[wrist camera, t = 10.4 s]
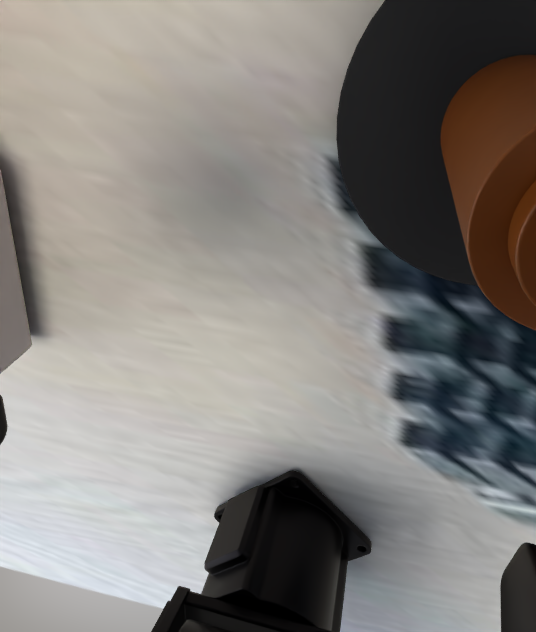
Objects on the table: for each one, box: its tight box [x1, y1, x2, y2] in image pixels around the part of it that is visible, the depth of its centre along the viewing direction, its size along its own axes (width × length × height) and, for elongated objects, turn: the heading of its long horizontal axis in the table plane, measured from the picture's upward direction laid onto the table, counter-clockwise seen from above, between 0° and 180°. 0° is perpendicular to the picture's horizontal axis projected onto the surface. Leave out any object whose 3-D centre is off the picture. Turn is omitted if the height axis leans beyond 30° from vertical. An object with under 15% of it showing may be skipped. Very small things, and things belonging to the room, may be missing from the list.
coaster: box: [337, 0, 536, 285], centre depth 16 cm, size 11×11×1 cm
